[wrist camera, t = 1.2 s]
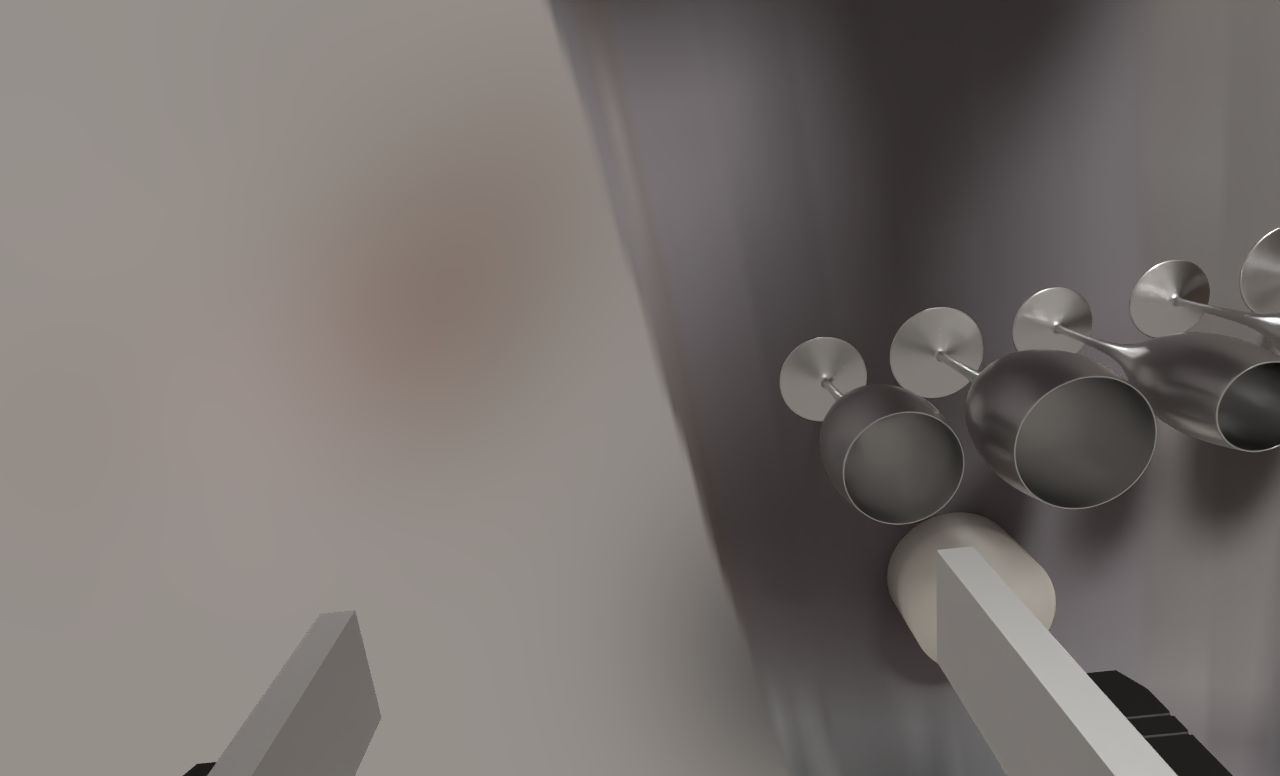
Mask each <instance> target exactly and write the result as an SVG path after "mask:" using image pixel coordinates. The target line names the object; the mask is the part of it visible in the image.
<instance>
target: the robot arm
mask: <svg viewBox="0 0 1280 776" xmlns="http://www.w3.org/2000/svg"><path fill="white" fill-rule="evenodd" d="M936 568H937V662H938V664H939V666H940V667H941V669H942V671H943V672H944V674H945V675H946V677H947V679H948V680H949V682H950V684H951V685H952V687H953V689H954V690H955V692H956V693H957V695H958V697H959V698H960V700H961V702H962V703H963V705H964V706H965V708H966V710H967V711H968V713H969V715H970V716H971V718H972V719H973V721H974V723H975V724H976V726H977V728H978V729H979V731H980V733H981V734H982V736H983V737H984V739H985V741H986V742H987V744H988V746H989V747H990V749H991V750H992V752H993V754H994V755H995V757H996V759H997V760H998V762H999V764H1000V765H1001V767H1002V768H1003V770H1004V772H1005V773H1006V775H1007V776H1232V774H1231V773H1230V772H1229V771H1228V770H1227V769H1226V768H1225V767H1224V766H1223V765H1222V764H1221V763H1220V762H1219V761H1218V760H1217V759H1216V758H1215V757H1214V756H1213V755H1212V754H1211V753H1210V752H1209V751H1208V750H1207V749H1206V748H1205V747H1204V746H1203V745H1202V744H1201V743H1200V742H1199V741H1198V740H1197V739H1196V738H1195V737H1194V736H1193V735H1189V733H1188V730H1187V729H1186V728H1185V727H1184V726H1183V725H1182V724H1181V723H1180V722H1179V721H1178V720H1177V719H1176V718H1175V717H1174V716H1171V715H1170V713H1169V710H1168V709H1167V708H1166V707H1165V706H1164V705H1163V704H1162V703H1161V702H1160V701H1159V700H1158V699H1157V698H1156V697H1155V696H1154V695H1153V694H1152V693H1151V692H1150V691H1149V690H1148V689H1147V688H1145V687H1143V686H1142V685H1140V684H1138V683H1137V682H1135V681H1133V680H1131V679H1130V678H1128V677H1126V676H1125V675H1123V674H1121V673H1119V672H1118V671H1116V670H1114V671H1104V672H1094V673H1085V671H1084V670H1083V669H1082V668H1081V667H1080V666H1079V665H1078V664H1077V662H1076V661H1075V660H1074V659H1073V658H1072V657H1071V656H1070V655H1069V654H1068V652H1067V651H1066V650H1065V649H1064V648H1063V647H1062V646H1061V645H1060V643H1059V642H1058V641H1057V640H1056V639H1055V638H1054V637H1053V636H1052V634H1051V633H1050V632H1049V631H1048V630H1047V629H1046V628H1045V627H1044V626H1043V624H1042V623H1041V622H1040V621H1039V620H1038V619H1037V618H1036V617H1035V615H1034V614H1033V613H1032V612H1031V611H1030V610H1029V609H1028V608H1027V606H1026V605H1025V604H1024V603H1023V602H1022V601H1021V600H1020V599H1019V598H1018V596H1017V595H1016V594H1015V593H1014V592H1013V591H1012V590H1011V589H1010V587H1009V586H1008V585H1007V584H1006V583H1005V582H1004V581H1003V580H1002V579H1001V577H1000V576H999V575H998V574H997V573H996V572H995V571H994V570H993V568H992V567H991V566H990V565H989V564H988V563H987V562H986V561H985V559H984V558H983V557H982V556H981V555H980V554H979V553H978V552H977V551H976V549H975V548H974V547H973V546H971V547H961V548H951V549H942V550H936ZM380 719H381V714H380V711H379V706H378V702H377V698H376V694H375V690H374V686H373V682H372V678H371V674H370V669H369V665H368V661H367V657H366V653H365V649H364V645H363V641H362V637H361V633H360V629H359V624H358V620H357V616H356V612H355V610H354V611H345V612H335V613H326V614H320V615H319V616H318V618H317V619H316V621H315V622H314V623H313V625H312V626H311V628H310V629H309V631H308V632H307V634H306V635H305V637H304V638H303V639H302V641H301V642H300V644H299V645H298V646H297V648H296V649H295V651H294V652H293V654H292V655H291V657H290V658H289V659H288V661H287V662H286V664H285V665H284V666H283V668H282V669H281V671H280V672H279V674H278V675H277V676H276V678H275V680H274V681H273V682H272V684H271V685H270V687H269V688H268V689H267V691H266V692H265V694H264V695H263V697H262V698H261V699H260V701H259V702H258V704H257V705H256V707H255V708H254V709H253V711H252V712H251V714H250V715H249V717H248V718H247V719H246V721H245V722H244V724H243V725H242V727H241V728H240V730H239V731H238V732H237V734H236V735H235V737H234V738H233V740H232V741H231V742H230V744H229V745H228V747H227V748H226V749H225V751H224V752H223V754H222V755H221V757H220V758H219V760H218V761H217V762H212V763H202V764H197V765H195V766H194V767H193V768H192V769H191V770H189V771H188V772H187V773H186V774H185V775H183V776H355V774H356V771H357V769H358V767H359V765H360V763H361V760H362V758H363V756H364V754H365V752H366V750H367V747H368V745H369V743H370V741H371V739H372V736H373V734H374V732H375V730H376V728H377V725H378V723H379V721H380Z"/></svg>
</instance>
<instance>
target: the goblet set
mask: <svg viewBox="0 0 1280 776" xmlns="http://www.w3.org/2000/svg"><path fill="white" fill-rule="evenodd" d="M1240 291H1241V295H1242V298H1243V300H1244V302H1245V303H1246V305H1247V306H1248V307H1249V308H1250V309H1251V310H1252V311H1253V312H1254V313H1252V312H1244V311H1238V310H1232V309H1227V308H1221V307H1216V306H1211V305H1208V302H1209V296H1210V287H1209V282H1208V279H1207V277H1206V275H1205V273H1204V272H1203V271H1202V270H1201V269H1200V268H1199V267H1198V266H1197V265H1195V264H1194V263H1192V262H1189V261H1186V260H1179V259H1175V260H1168V261H1164V262H1161V263H1159V264H1157V265H1155V266H1153V267H1152V268H1150V269H1149V270H1147V271H1146V272H1145V273H1144V274H1143V275H1142V276H1141V277H1140V279H1139V280H1138V281H1137V283H1136V284H1135V286H1134V288H1133V290H1132V293H1131V296H1130V301H1129V311H1130V316H1131V319H1132V321H1133V323H1134V325H1135V326H1136V327H1137V328H1138V329H1139V330H1140V331H1141V332H1142V333H1144V334H1145V335H1148V336H1150V337H1154V338H1153V339H1150V340H1147V341H1144V342H1141V343H1136V344H1118V343H1112V342H1107V341H1103V340H1099V339H1096V338H1093V337H1089V335H1090V332H1091V327H1092V314H1091V310H1090V307H1089V305H1088V303H1087V301H1086V300H1085V299H1084V298H1083V297H1082V296H1081V295H1080V294H1079V293H1077V292H1076V291H1074V290H1072V289H1069V288H1064V287H1051V288H1047V289H1044V290H1041V291H1039V292H1037V293H1035V294H1033V295H1032V296H1031V297H1029V298H1028V299H1027V300H1026V301H1025V302H1024V303H1023V304H1022V305H1021V307H1020V308H1019V310H1018V311H1017V313H1016V316H1015V318H1014V321H1013V326H1012V338H1013V342H1014V345H1015V347H1016V349H1017V351H1018V352H1014V353H1011V354H1008V355H1006V356H1003V357H1001V358H999V359H997V360H995V361H994V362H992V363H991V364H989V365H988V366H987V367H986V368H984V369H983V370H982V371H981V372H979V371H978V369H979V367H980V365H981V362H982V359H983V354H984V342H983V337H982V334H981V331H980V329H979V327H978V325H977V324H976V323H975V321H974V320H973V319H972V318H971V317H970V316H968V315H967V314H966V313H964V312H962V311H960V310H958V309H955V308H950V307H933V308H929V309H925V310H923V311H920V312H918V313H916V314H915V315H913V316H912V317H910V318H909V319H908V320H907V321H906V322H905V323H904V324H903V325H902V326H901V327H900V328H899V330H898V331H897V333H896V335H895V336H894V339H893V341H892V344H891V348H890V355H889V360H890V367H891V371H892V373H893V376H894V378H895V379H896V381H897V382H898V383H899V385H900V386H901V387H898V386H894V385H888V384H870V385H866V384H867V369H866V365H865V362H864V359H863V357H862V356H861V354H860V353H859V351H858V350H857V349H856V348H855V347H854V346H853V345H851V344H850V343H848V342H847V341H845V340H842V339H839V338H836V337H828V336H824V337H816V338H813V339H810V340H807V341H805V342H803V343H801V344H800V345H798V346H797V347H796V348H795V349H794V350H793V351H792V352H791V353H790V354H789V355H788V356H787V358H786V359H785V361H784V363H783V365H782V368H781V371H780V376H779V388H780V392H781V395H782V398H783V400H784V402H785V403H786V405H787V406H788V407H789V409H790V410H792V411H793V412H794V413H795V414H797V415H798V416H800V417H802V418H804V419H807V420H811V421H823V423H822V426H821V431H820V440H819V444H820V454H821V458H822V462H823V465H824V468H825V470H826V473H827V475H828V477H829V479H830V480H831V482H832V484H833V485H834V487H835V488H836V489H837V491H838V492H839V493H840V494H841V495H842V496H843V497H844V498H845V499H846V500H847V501H848V502H849V503H850V504H851V505H853V506H854V507H855V508H856V509H857V510H859V511H860V512H861V513H863V514H864V515H866V516H867V517H869V518H871V519H873V520H876V521H878V522H882V523H886V524H894V525H901V524H910V523H914V522H918V521H921V520H923V519H926V518H928V517H930V516H932V515H933V514H935V513H936V512H938V511H939V510H940V509H942V508H943V507H944V506H945V505H946V504H947V503H948V502H949V501H950V500H951V498H952V497H953V496H954V494H955V493H956V491H957V489H958V487H959V485H960V483H961V480H962V477H963V472H964V453H963V448H962V445H961V443H960V441H959V438H958V437H957V435H956V433H955V432H954V430H953V428H952V427H951V425H950V424H949V422H948V421H947V420H946V418H945V417H944V416H943V415H942V414H941V412H940V411H939V410H938V409H937V408H936V407H935V406H934V405H932V404H931V403H930V402H929V401H927V400H926V399H925V398H941V397H945V396H949V395H951V394H953V393H955V392H957V391H959V390H960V389H962V388H963V387H965V386H966V385H967V384H968V383H969V382H971V383H972V385H971V387H970V389H969V392H968V395H967V399H966V406H965V418H966V424H967V428H968V432H969V435H970V437H971V440H972V442H973V444H974V446H975V448H976V449H977V451H978V453H979V454H980V456H981V457H982V458H983V460H984V461H985V462H986V464H987V465H988V466H989V467H990V468H991V469H992V470H993V471H994V472H995V473H996V474H997V475H998V476H999V477H1000V478H1002V479H1003V480H1004V481H1005V482H1007V483H1008V484H1010V485H1011V486H1013V487H1014V488H1016V489H1018V490H1019V491H1021V492H1023V493H1025V494H1027V495H1028V496H1030V497H1033V498H1035V499H1037V500H1039V501H1041V502H1043V503H1046V504H1048V505H1051V506H1054V507H1058V508H1063V509H1085V508H1091V507H1095V506H1098V505H1101V504H1104V503H1106V502H1109V501H1111V500H1113V499H1114V498H1116V497H1118V496H1119V495H1121V494H1122V493H1124V492H1125V491H1126V490H1128V489H1129V488H1130V487H1131V486H1132V485H1133V484H1134V483H1135V482H1136V481H1137V480H1138V479H1139V478H1140V476H1141V475H1142V474H1143V472H1144V471H1145V469H1146V468H1147V466H1148V464H1149V462H1150V460H1151V458H1152V456H1153V453H1154V449H1155V445H1156V440H1157V424H1156V419H1155V416H1156V417H1158V418H1159V419H1160V420H1162V421H1163V422H1165V423H1166V424H1168V425H1169V426H1171V427H1173V428H1175V429H1176V430H1178V431H1180V432H1182V433H1184V434H1187V435H1189V436H1191V437H1194V438H1196V439H1199V440H1202V441H1205V442H1208V443H1212V444H1215V445H1219V446H1223V447H1227V448H1231V449H1235V450H1240V451H1246V452H1262V451H1267V450H1270V449H1273V448H1276V447H1278V446H1280V356H1278V355H1276V354H1274V353H1272V352H1270V351H1268V350H1266V349H1264V348H1262V347H1259V346H1257V345H1255V344H1252V343H1249V342H1247V341H1243V340H1240V339H1237V338H1233V337H1229V336H1224V335H1218V334H1211V333H1200V332H1186V331H1187V330H1189V329H1190V328H1191V327H1193V326H1194V325H1195V324H1196V323H1197V322H1198V321H1199V319H1200V318H1201V317H1202V315H1203V313H1204V312H1205V313H1209V314H1212V315H1215V316H1219V317H1222V318H1225V319H1229V320H1232V321H1235V322H1238V323H1240V324H1243V325H1246V326H1248V327H1250V328H1253V329H1254V330H1256V331H1258V332H1260V333H1261V334H1263V335H1264V336H1265V337H1267V338H1268V339H1269V340H1270V341H1271V342H1272V343H1273V344H1274V345H1275V346H1276V347H1277V348H1278V349H1279V350H1280V227H1278V228H1276V229H1274V230H1272V231H1270V232H1269V233H1267V234H1266V235H1264V236H1263V237H1262V238H1261V239H1260V240H1259V241H1258V242H1257V243H1256V244H1255V245H1254V246H1253V247H1252V249H1251V250H1250V251H1249V253H1248V255H1247V256H1246V258H1245V260H1244V263H1243V265H1242V269H1241V273H1240ZM1084 344H1087V345H1089V346H1092V347H1094V348H1096V349H1098V350H1100V351H1102V352H1103V353H1105V354H1107V355H1108V356H1110V357H1111V358H1113V359H1114V360H1115V361H1116V362H1117V363H1118V364H1119V365H1120V366H1121V367H1122V368H1123V370H1124V372H1125V374H1126V376H1127V378H1128V381H1129V382H1128V381H1127V380H1125V379H1124V378H1123V377H1121V376H1120V375H1119V374H1117V373H1116V372H1114V371H1113V370H1111V369H1110V368H1108V367H1106V366H1104V365H1103V364H1101V363H1099V362H1097V361H1095V360H1092V359H1090V358H1087V357H1085V356H1082V355H1078V354H1076V353H1077V352H1078V351H1079V350H1080V349H1081V348H1082V347H1083V346H1084Z"/></svg>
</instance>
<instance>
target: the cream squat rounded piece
mask: <svg viewBox="0 0 1280 776" xmlns="http://www.w3.org/2000/svg"><path fill="white" fill-rule="evenodd" d="M971 546H973V547H974V548H975V549H976V551H977V552H978V553H979V554H980V555H981V556H982V557H983V558H984V559H985V561H986V562H987V563H988V564H989V565H990V566H991V567H992V568H993V570H994V571H995V572H996V573H997V574H998V575H999V576H1000V577H1001V579H1002V580H1003V581H1004V582H1005V583H1006V584H1007V585H1008V586H1009V587H1010V589H1011V590H1012V591H1013V592H1014V593H1015V594H1016V595H1017V596H1018V598H1019V599H1020V600H1021V601H1022V602H1023V603H1024V604H1025V605H1026V606H1027V608H1028V609H1029V610H1030V611H1031V612H1032V613H1033V614H1034V615H1035V617H1036V618H1037V619H1038V620H1039V621H1040V622H1041V623H1042V624H1043V626H1044V627H1045V628H1046V629H1047V630H1048V631H1049V629H1050V626H1051V624H1052V622H1053V618H1054V614H1055V608H1056V597H1055V591H1054V587H1053V584H1052V581H1051V580H1050V578H1049V576H1048V574H1047V573H1046V572H1045V570H1044V569H1043V568H1042V567H1041V566H1040V565H1039V564H1038V563H1037V562H1036V561H1035V560H1034V559H1033V558H1032V557H1031V556H1030V555H1029V554H1028V553H1027V552H1026V551H1025V550H1024V549H1023V548H1022V547H1021V546H1020V545H1019V544H1018V543H1017V542H1016V541H1015V540H1014V539H1013V538H1012V537H1011V536H1010V535H1009V534H1008V533H1007V532H1005V531H1004V530H1003V529H1002V528H1001V527H1000V526H999V525H998V524H996V523H995V522H994V521H992V520H990V519H988V518H986V517H983V516H980V515H977V514H973V513H965V512H954V513H947V514H942V515H938V516H935V517H932V518H930V519H927V520H926V521H924V522H922V523H920V524H918V525H917V526H916V527H914V528H913V529H912V530H910V531H909V532H908V533H907V534H906V535H905V536H904V537H903V538H902V539H901V541H900V542H899V543H898V545H897V546H896V548H895V550H894V552H893V553H892V556H891V558H890V561H889V565H888V570H887V585H888V589H889V593H890V595H891V598H892V600H893V602H894V603H895V605H896V607H897V608H898V610H899V612H900V613H901V615H902V617H903V618H904V620H905V622H906V623H907V625H908V627H909V628H910V630H911V632H912V633H913V635H914V637H915V638H916V640H917V642H918V643H919V645H920V647H921V648H922V650H923V651H924V652H925V653H926V654H927V655H928V656H929V657H930V658H931V659H932V660H933V661H935V662H936V663H938V662H937V568H936V550H942V549H951V548H961V547H971Z"/></svg>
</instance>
